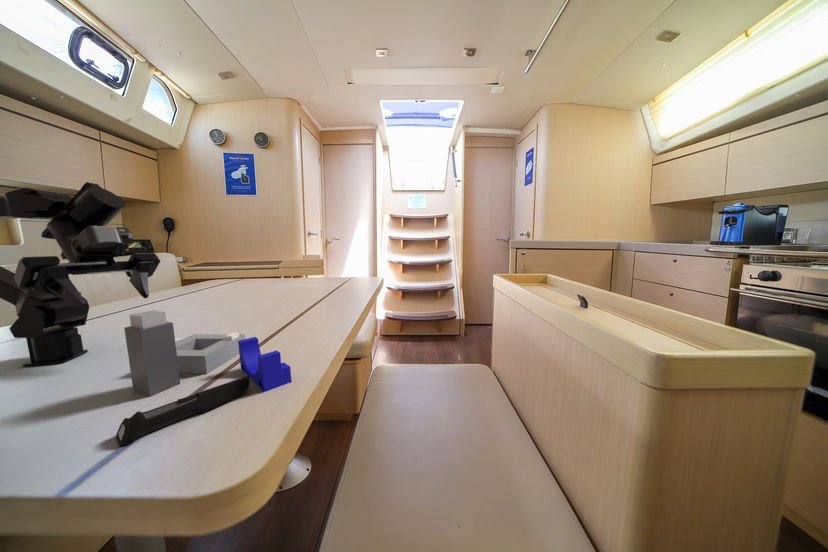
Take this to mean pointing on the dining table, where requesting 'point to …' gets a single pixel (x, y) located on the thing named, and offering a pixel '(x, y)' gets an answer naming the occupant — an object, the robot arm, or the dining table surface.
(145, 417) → the electric trimmer
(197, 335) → the socket
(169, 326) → the plug
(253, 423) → the dining table surface
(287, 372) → the cable clip
